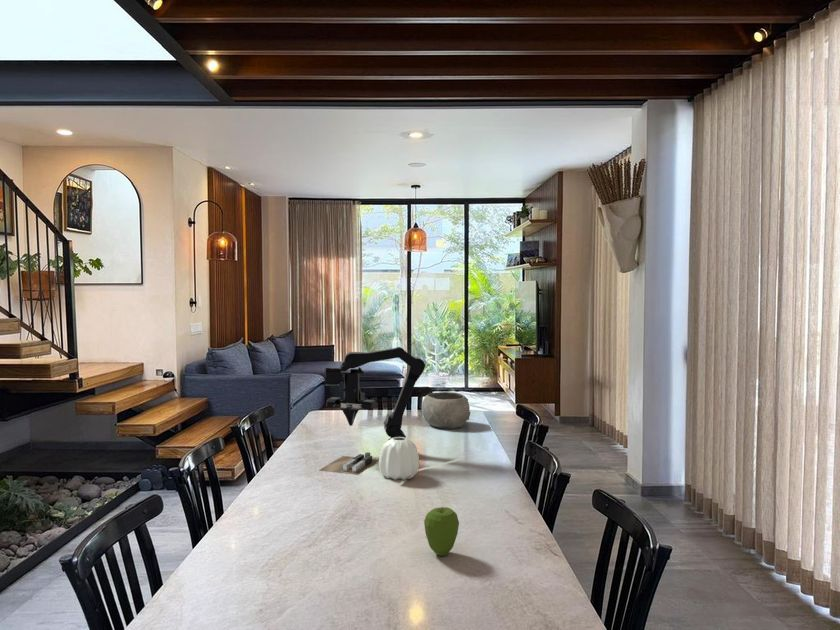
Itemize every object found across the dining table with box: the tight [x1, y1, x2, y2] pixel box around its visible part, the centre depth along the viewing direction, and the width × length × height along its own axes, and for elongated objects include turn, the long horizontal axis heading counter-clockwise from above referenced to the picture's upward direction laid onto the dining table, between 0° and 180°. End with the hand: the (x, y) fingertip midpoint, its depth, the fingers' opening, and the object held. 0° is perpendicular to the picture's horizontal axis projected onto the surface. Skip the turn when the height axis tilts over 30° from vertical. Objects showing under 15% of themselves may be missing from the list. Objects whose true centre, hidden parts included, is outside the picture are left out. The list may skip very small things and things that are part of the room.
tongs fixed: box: [352, 451, 373, 473], centre depth 216 cm, size 4×18×3 cm, turn 163°
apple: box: [423, 506, 460, 557], centre depth 144 cm, size 9×8×12 cm
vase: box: [378, 437, 420, 481], centre depth 205 cm, size 14×14×13 cm
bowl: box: [421, 391, 471, 430], centre depth 286 cm, size 23×23×15 cm
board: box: [318, 455, 379, 476], centre depth 216 cm, size 15×20×1 cm
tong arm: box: [343, 453, 365, 471], centre depth 214 cm, size 2×14×2 cm, turn 161°
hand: (351, 425), depth 229 cm, fingers closed
